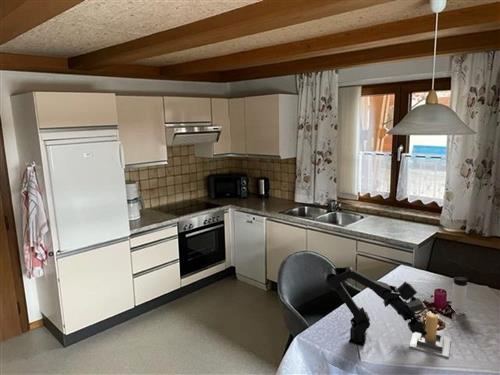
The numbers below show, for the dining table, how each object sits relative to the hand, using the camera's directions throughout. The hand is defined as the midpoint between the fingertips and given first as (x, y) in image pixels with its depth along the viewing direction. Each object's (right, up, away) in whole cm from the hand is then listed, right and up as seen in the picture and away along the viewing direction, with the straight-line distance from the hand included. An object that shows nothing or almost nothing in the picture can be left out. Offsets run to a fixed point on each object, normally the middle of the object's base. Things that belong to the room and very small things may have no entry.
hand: (422, 328), depth 170 cm
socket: (+4, -7, +1) cm, 8 cm away
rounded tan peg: (+4, -7, +1) cm, 8 cm away
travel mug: (+31, -2, +26) cm, 41 cm away
